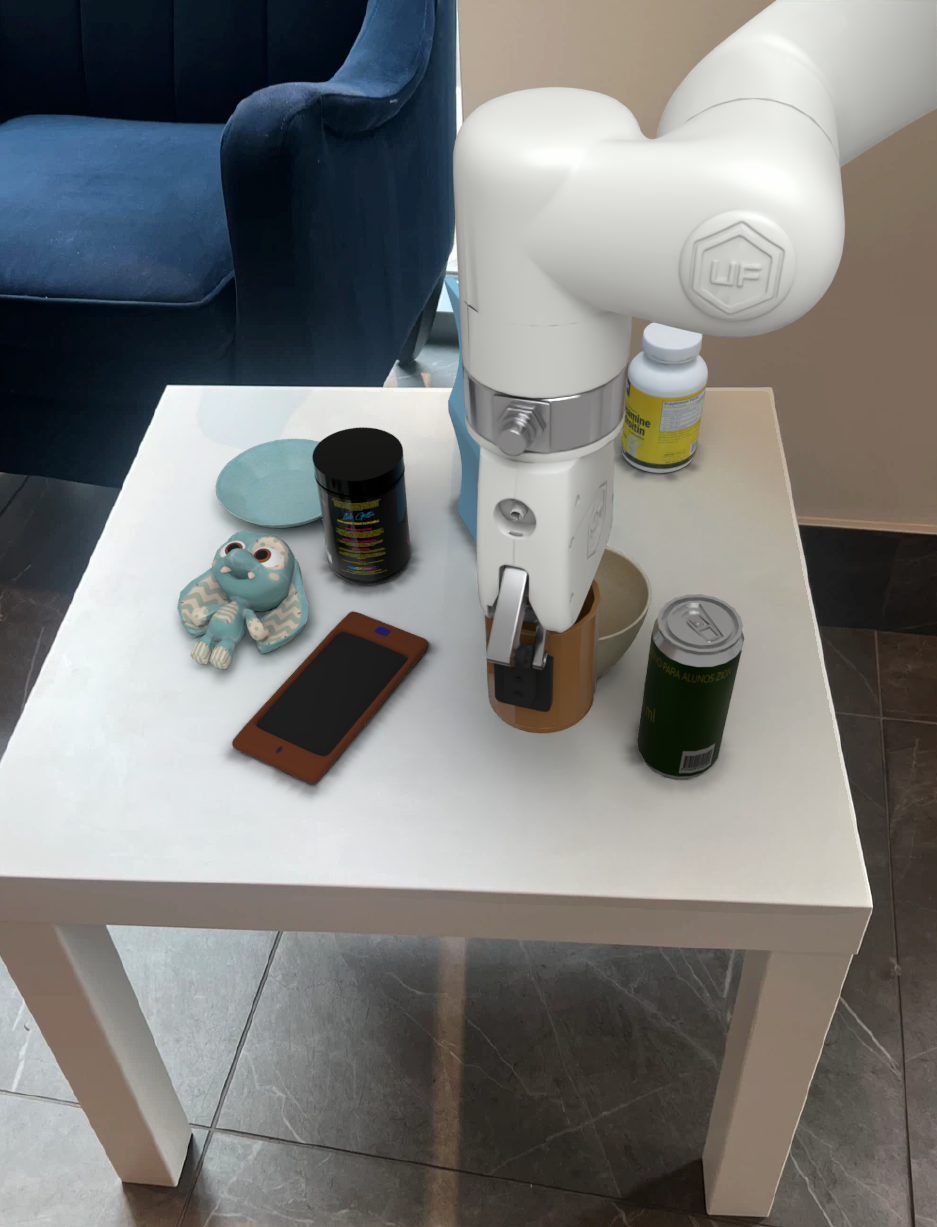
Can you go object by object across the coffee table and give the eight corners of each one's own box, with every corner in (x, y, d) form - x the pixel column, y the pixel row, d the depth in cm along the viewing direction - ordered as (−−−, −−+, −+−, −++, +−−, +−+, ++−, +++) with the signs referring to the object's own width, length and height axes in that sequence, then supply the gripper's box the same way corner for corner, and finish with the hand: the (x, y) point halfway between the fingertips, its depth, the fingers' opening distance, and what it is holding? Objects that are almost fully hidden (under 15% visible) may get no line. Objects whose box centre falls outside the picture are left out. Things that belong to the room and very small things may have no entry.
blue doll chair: (538, 480, 95) (545, 256, 80) (576, 535, 90) (590, 305, 75) (452, 502, 93) (442, 278, 79) (484, 558, 88) (481, 329, 74)
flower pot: (483, 692, 78) (482, 619, 73) (528, 601, 85) (529, 528, 79) (621, 728, 75) (629, 655, 70) (656, 631, 82) (667, 557, 76)
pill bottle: (621, 431, 99) (631, 311, 91) (694, 434, 98) (712, 313, 90) (619, 475, 95) (630, 353, 86) (696, 478, 94) (715, 355, 86)
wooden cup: (561, 643, 69) (563, 544, 63) (614, 710, 65) (622, 610, 59) (470, 678, 68) (465, 580, 62) (519, 748, 64) (518, 650, 58)
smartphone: (431, 638, 81) (313, 780, 72) (431, 647, 82) (315, 789, 73) (350, 606, 84) (228, 740, 75) (351, 616, 84) (230, 749, 76)
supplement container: (422, 577, 87) (414, 468, 80) (339, 598, 86) (323, 489, 78) (398, 527, 92) (389, 419, 84) (319, 545, 90) (302, 438, 83)
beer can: (734, 764, 73) (766, 634, 64) (666, 795, 71) (688, 667, 63) (686, 710, 76) (710, 580, 67) (620, 739, 75) (635, 610, 66)
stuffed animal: (123, 614, 78) (197, 490, 84) (155, 670, 84) (223, 550, 90) (258, 647, 75) (326, 516, 81) (282, 702, 81) (344, 577, 87)
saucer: (384, 508, 93) (382, 486, 92) (261, 564, 89) (257, 542, 88) (314, 444, 100) (310, 422, 99) (197, 493, 96) (191, 472, 95)
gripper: (574, 516, 45) (564, 788, 58) (664, 308, 56) (639, 577, 69) (402, 486, 47) (429, 755, 60) (521, 292, 58) (522, 555, 71)
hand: (541, 658), depth 64 cm, fingers closed on wooden cup, 6 cm apart
